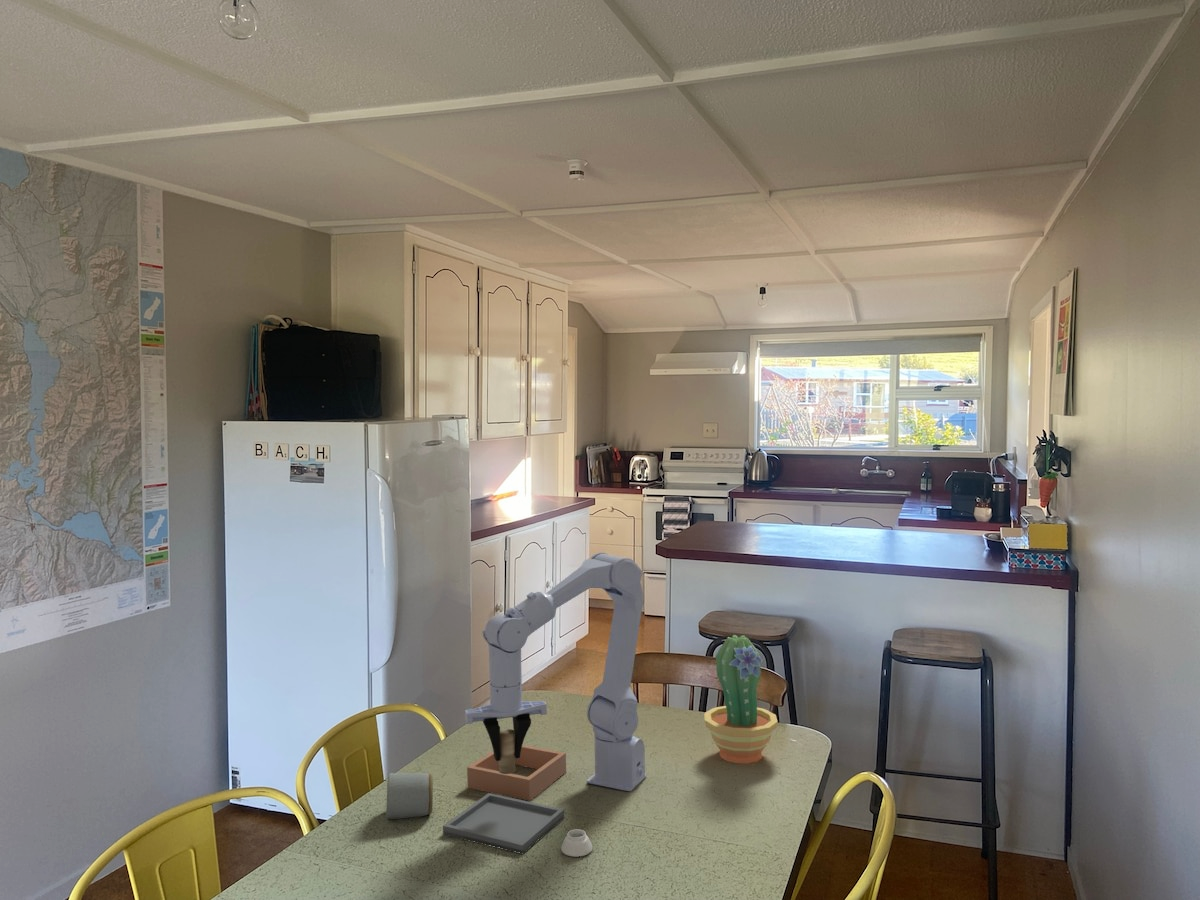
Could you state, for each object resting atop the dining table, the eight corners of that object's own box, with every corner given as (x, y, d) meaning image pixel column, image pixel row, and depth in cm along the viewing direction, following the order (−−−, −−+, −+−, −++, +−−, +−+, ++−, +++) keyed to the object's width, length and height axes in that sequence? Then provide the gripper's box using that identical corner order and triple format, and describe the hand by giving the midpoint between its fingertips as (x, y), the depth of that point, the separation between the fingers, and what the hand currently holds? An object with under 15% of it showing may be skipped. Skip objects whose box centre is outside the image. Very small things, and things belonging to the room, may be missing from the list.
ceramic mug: (434, 821, 150) (433, 778, 150) (386, 827, 148) (385, 783, 148) (433, 797, 160) (432, 756, 160) (388, 801, 159) (387, 761, 158)
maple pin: (518, 768, 154) (518, 730, 153) (509, 775, 151) (508, 736, 151) (504, 766, 155) (504, 728, 155) (495, 772, 152) (494, 733, 152)
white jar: (598, 849, 140) (575, 840, 143) (597, 832, 139) (575, 823, 143) (578, 862, 136) (555, 852, 139) (578, 844, 136) (554, 834, 139)
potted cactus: (695, 764, 173) (694, 642, 172) (713, 737, 187) (711, 625, 186) (771, 774, 167) (770, 649, 167) (783, 745, 182) (782, 630, 181)
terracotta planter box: (566, 772, 170) (565, 752, 170) (529, 801, 157) (529, 780, 157) (507, 761, 176) (506, 742, 176) (467, 787, 164) (467, 767, 163)
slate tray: (564, 817, 151) (564, 809, 151) (522, 854, 138) (522, 845, 138) (489, 800, 158) (489, 792, 158) (443, 834, 145) (442, 825, 145)
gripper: (539, 672, 158) (540, 744, 159) (461, 680, 154) (463, 754, 154) (549, 683, 152) (550, 758, 152) (468, 692, 147) (469, 769, 148)
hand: (507, 757), depth 153 cm, fingers closed on maple pin, 3 cm apart
